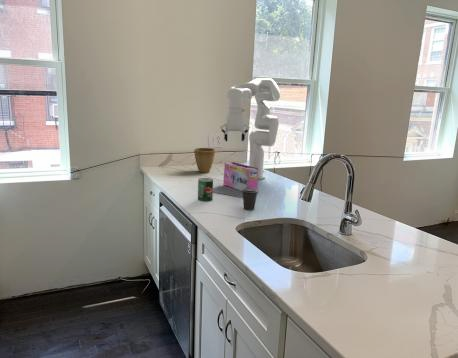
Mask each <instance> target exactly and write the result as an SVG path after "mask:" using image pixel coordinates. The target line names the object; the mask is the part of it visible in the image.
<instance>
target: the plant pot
mask: <svg viewBox="0 0 458 358" xmlns="http://www.w3.org/2000/svg"><path fill="white" fill-rule="evenodd" d="M193 152H194V158H195V164H196V167H197V169H198V172H199V173H202V174H205V173H206V174H208V173H210V172H211V169H212V167H213V163H214V159H215V154H216V149H215V148H212V147H197V148H194V149H193Z"/></svg>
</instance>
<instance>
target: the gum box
mask: <svg viewBox="0 0 458 358" xmlns="http://www.w3.org/2000/svg"><path fill="white" fill-rule="evenodd" d="M258 180H259V179H258V168H255V167H251V166H249V165H247V164H243V163H242V164H241V163H237V162H234V161H233V162H231V163H226V162H224V169H223V185H224V186H226V187H228V188H234V189H238V190H241V191H242V190H243V189H247V188H250V189H255V190H257V191H258Z"/></svg>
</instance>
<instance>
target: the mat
mask: <svg viewBox="0 0 458 358" xmlns="http://www.w3.org/2000/svg"><path fill="white" fill-rule="evenodd" d="M213 194H220V195H223V196H230V197H235V198H240V199H243V192H242V191H241V190H238V189H235V188H232V187H229V186H221V185H218V186H215V187H213Z"/></svg>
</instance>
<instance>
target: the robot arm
mask: <svg viewBox="0 0 458 358" xmlns="http://www.w3.org/2000/svg"><path fill="white" fill-rule="evenodd" d="M226 96H227V99H228V112H227V113H226V117H225V123H224V124H222V125H220V126H219V128H220V130H221V132H222V133H223V134H224V135H223V136H224V137H223V139H224V141H225V142H228V136H229V135H228V133H229V132H241V141H242V142H244V141H245V139H246V134H247V133H248V131H249V130H250V126H249V125H248V124H245V119H244V118H245V117H244V114H243V112H245V108H243V103H244V102H245V103H248V102H250V101H251V99H252V98H253V97H254V98H255V102H256V104H257V105H256V106H257V107H256V108H257V109H256V114H255V118H254V119H255V120H254V127H255V129H257V130H252V131H251V132H250V133H249V136H248V141H249V158H248V159H249V161H248V162H249V163H248V164H249V165H248V166H251V167H255V168H258V180H265V178H266V176H265V175H264V173H265V170H264V159H265V151H264V147H273V146H274V145H275V144H276V140H277V134H278V131H279V126H280V125H279V124H280V123H279V117H277V116H275V115H270V112H271V107H270V106H269V104H268V103H267V102H278V101H279V100H280V98H281V91H280V89H279V87H278V84H277V83H276V81H274V79H272V78H263V77H262V78H261V77H260V78H256V79H253V80H251V81H249V82H245V83H241V84H236V85H233V86H231V87H230V88H229V89H228V90H227V94H226ZM224 128H225V130H224ZM245 128H246V129H245ZM262 146H263V147H262Z"/></svg>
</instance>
